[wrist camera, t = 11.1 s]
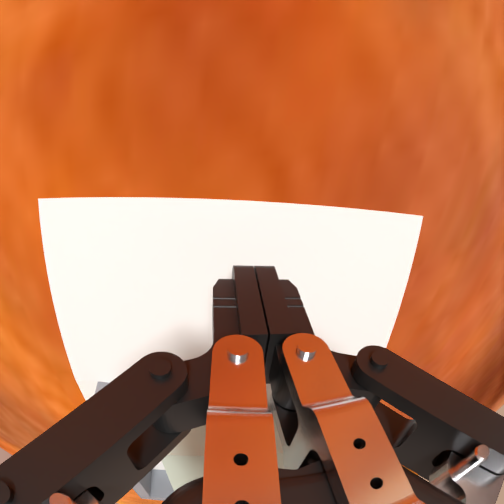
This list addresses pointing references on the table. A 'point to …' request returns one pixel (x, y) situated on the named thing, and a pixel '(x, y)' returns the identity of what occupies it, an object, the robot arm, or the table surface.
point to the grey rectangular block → (197, 457)
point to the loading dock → (211, 276)
